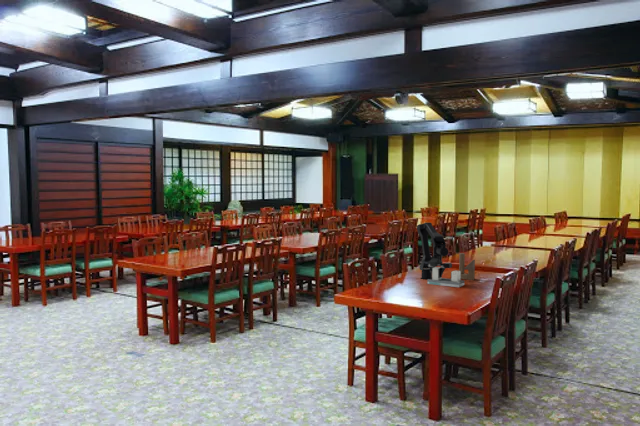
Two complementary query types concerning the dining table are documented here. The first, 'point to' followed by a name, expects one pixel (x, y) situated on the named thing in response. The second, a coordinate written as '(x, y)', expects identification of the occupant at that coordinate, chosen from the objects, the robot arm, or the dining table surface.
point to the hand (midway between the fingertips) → (437, 277)
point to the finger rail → (449, 280)
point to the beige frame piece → (469, 267)
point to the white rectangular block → (436, 273)
